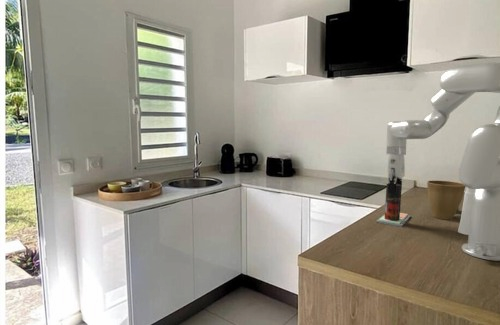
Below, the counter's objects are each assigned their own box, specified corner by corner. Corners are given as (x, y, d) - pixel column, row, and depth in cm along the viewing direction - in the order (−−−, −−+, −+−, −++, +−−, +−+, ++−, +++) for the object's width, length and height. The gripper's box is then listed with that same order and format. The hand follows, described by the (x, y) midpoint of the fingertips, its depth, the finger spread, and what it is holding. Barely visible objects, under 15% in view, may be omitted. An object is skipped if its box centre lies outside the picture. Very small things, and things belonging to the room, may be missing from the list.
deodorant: (381, 217, 142) (383, 183, 140) (392, 216, 144) (394, 183, 142) (391, 221, 136) (393, 186, 134) (402, 220, 138) (405, 185, 136)
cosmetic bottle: (478, 233, 127) (483, 177, 124) (473, 236, 123) (478, 179, 120) (460, 229, 131) (465, 175, 129) (455, 232, 127) (460, 177, 125)
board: (401, 226, 134) (401, 223, 134) (376, 222, 140) (376, 219, 139) (410, 217, 148) (410, 214, 148) (387, 213, 154) (387, 210, 154)
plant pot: (467, 223, 139) (470, 187, 137) (427, 220, 144) (430, 184, 142) (457, 214, 153) (460, 181, 151) (422, 211, 158) (424, 179, 156)
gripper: (401, 152, 127) (399, 195, 129) (410, 150, 141) (408, 189, 143) (381, 151, 132) (380, 193, 133) (391, 150, 146) (390, 187, 147)
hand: (394, 191), depth 138 cm, fingers open, 9 cm apart
